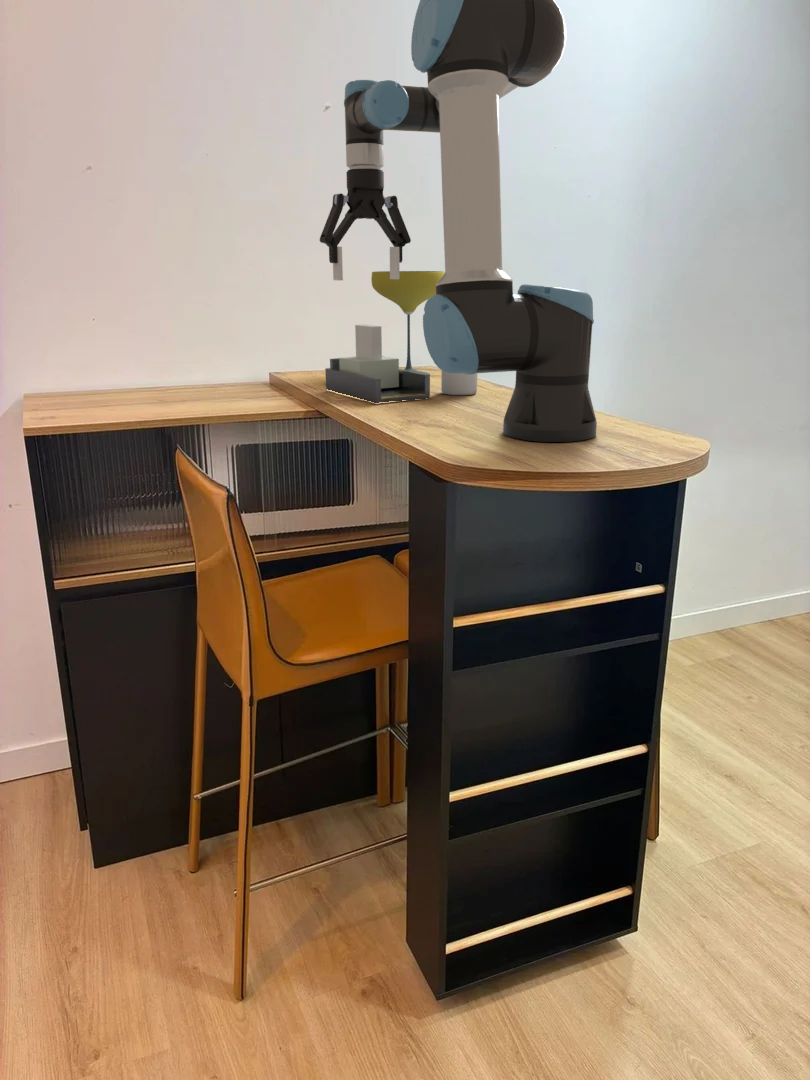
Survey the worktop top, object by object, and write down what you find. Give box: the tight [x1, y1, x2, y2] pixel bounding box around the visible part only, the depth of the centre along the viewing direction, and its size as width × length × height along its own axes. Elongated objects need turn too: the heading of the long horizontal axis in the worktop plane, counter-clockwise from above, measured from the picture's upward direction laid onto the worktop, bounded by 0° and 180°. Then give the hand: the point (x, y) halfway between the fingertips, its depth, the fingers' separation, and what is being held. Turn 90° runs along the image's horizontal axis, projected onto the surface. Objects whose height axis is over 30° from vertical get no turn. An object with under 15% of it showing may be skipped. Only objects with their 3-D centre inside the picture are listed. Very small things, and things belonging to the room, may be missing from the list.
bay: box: [324, 357, 431, 403], centre depth 176 cm, size 22×13×7 cm, turn 32°
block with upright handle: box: [338, 324, 400, 389], centre depth 177 cm, size 9×10×13 cm
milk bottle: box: [440, 370, 478, 396], centre depth 175 cm, size 8×8×20 cm
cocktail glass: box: [370, 270, 445, 376], centre depth 204 cm, size 18×18×25 cm
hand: (366, 280), depth 172 cm, fingers open, 13 cm apart
